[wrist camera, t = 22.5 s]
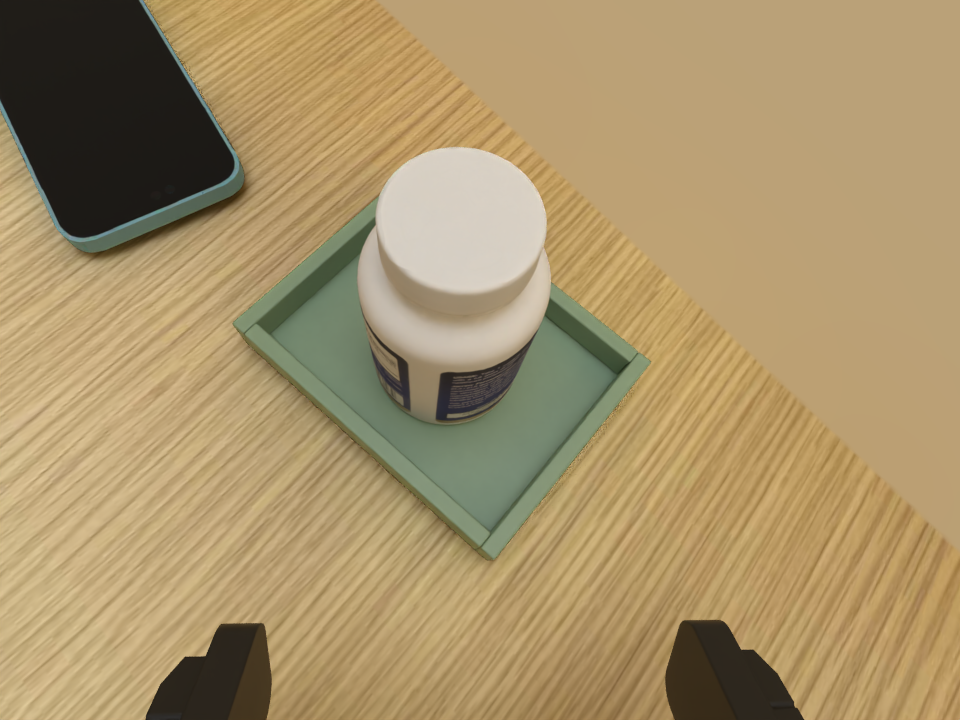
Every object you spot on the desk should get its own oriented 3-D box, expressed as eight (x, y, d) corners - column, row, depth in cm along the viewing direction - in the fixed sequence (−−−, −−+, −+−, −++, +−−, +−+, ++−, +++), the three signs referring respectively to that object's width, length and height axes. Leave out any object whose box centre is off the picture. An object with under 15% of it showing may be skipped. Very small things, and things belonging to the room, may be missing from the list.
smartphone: (109, -57, 27) (249, 174, 23) (120, -35, 28) (257, 191, 24) (-58, -9, 25) (66, 252, 22) (-39, 14, 26) (82, 266, 22)
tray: (633, 377, 23) (652, 361, 22) (487, 561, 21) (494, 560, 19) (410, 198, 25) (409, 168, 23) (246, 343, 22) (230, 322, 21)
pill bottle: (529, 318, 23) (600, 157, 14) (495, 445, 21) (551, 354, 12) (400, 279, 23) (388, 94, 14) (355, 403, 22) (306, 282, 12)
